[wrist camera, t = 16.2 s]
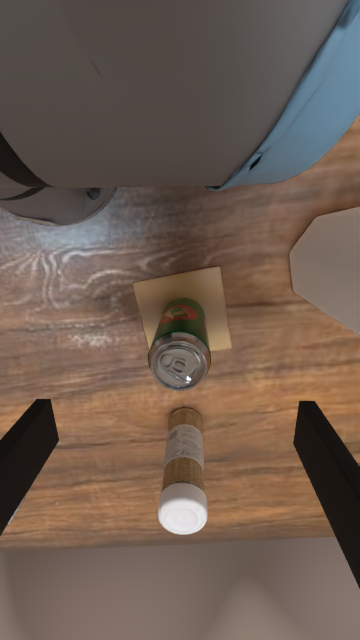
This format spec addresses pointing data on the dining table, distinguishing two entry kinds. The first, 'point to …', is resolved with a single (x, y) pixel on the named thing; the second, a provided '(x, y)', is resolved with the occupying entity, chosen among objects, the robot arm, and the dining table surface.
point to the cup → (330, 266)
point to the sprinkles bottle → (183, 475)
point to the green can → (180, 346)
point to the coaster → (190, 285)
